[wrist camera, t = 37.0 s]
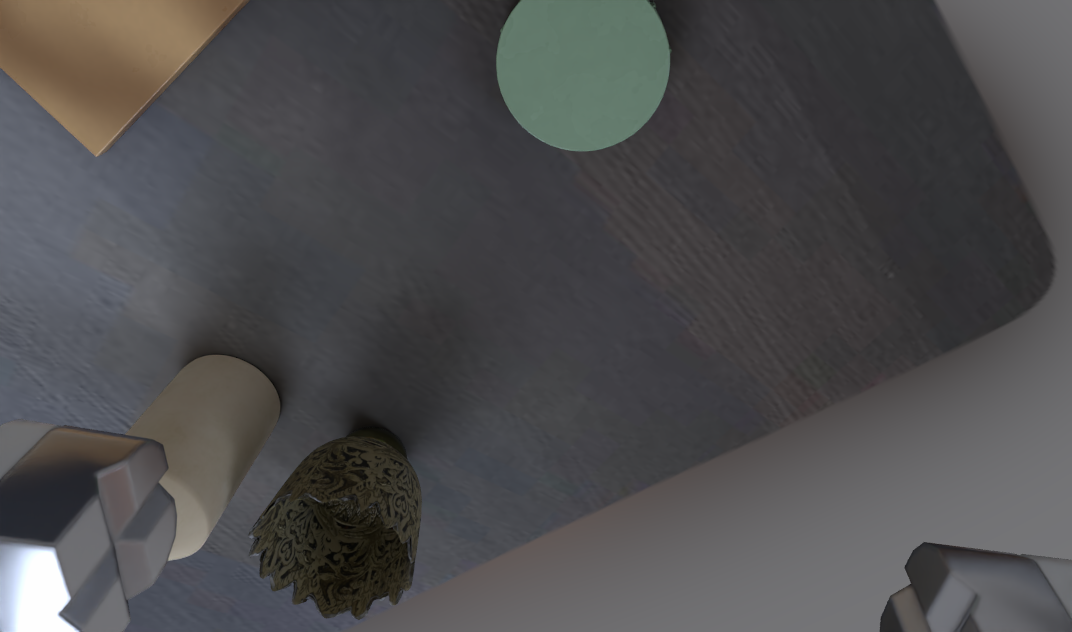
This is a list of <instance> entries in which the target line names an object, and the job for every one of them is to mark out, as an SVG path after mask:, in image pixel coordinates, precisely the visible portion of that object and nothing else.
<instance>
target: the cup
mask: <svg viewBox="0 0 1072 632" xmlns="http://www.w3.org/2000/svg"><path fill="white" fill-rule="evenodd" d="M421 504H422V499H421V489H420V485H419V481H418V478H417V475H416V473H415V471H414V469H413V468H412V466H411V464H410V463H409V462H408V459H407V454H406V450H405V447H404V445H403V444H402V442H401V441H400V440H399V438H397V437H396V436H395V435H394V434H392V433H391V432H389V431H387V430H385V429H382V428H378V427H364V428H360V429H357V430H355V431H353V432H352V433H350V434H349V435H347V436H346V437H344V438H340V439H336V440H333V441H330V442H328V443H326V444H324V445H322V446H320V447H319V448H317V449H316V450H314V451H313V452H312V453H311V454H310V455H309V456H307V457H306V458H305V459H304V460H303V461H302V462H301V464H300V465H299V466H298V467H297V468H296V469H295V471H294V472H293V473H292V474H291V476H290V477H289V478H288V480H287V481H286V482H285V483H284V485H283V486H282V488H281V489H280V490H279V492H278V493H277V494H276V496H275V497H274V498H273V500H272V501H271V503H270V504H269V505H268V507H267V508H266V510H265V511H264V512H263V513H262V515H261V516H260V518H259V519H258V521H257V522H256V523H255V525H254V526H253V527H252V529H251V531H250V533H249V537H250V538H253V539H256V540H255V541H254V543H253V545H252V547H251V550H250V553H249V557H252V556H253V555H258V554H260V553H261V552H262V551H263V552H262V554H261V557H260V562H261V564H260V577H261V578H265V577H267V576H269V575H270V583H271V589H272V591H279V590H282V589H284V588H287V587H289V586H290V584H292V583H294V592H293V597H292V604H295V605H296V604H300V603H304V602H306V601H307V600H308V599H306V598H307V597H311V598H310V599H311V600H313V601H314V602H315V606H316V608H317V610H318V612H319V613H320V614H321V615H322V616H323V617H324V618H332V617H336V616H338V615H341V614H343V613H345V612H347V611H350V610H351V614H352V616H353V617H354V618H355V619H358V620H360V619H362V618H363V617H365V616H366V615H367V613H368V611H369V609H370V606H371V605H372V602H373V601H374V600H376V599H380V601H383V600H384V598H385V597H386V596H388V595H389V601H390V604H391V605H396V604H397V603H398V602H399V600H400V598H401V596H402V593H403V591H408V590H409V589H410V587H411V585H412V580H413V573H414V564H415V557H416V551H417V544H418V537H419V529H420V521H421Z"/></svg>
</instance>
